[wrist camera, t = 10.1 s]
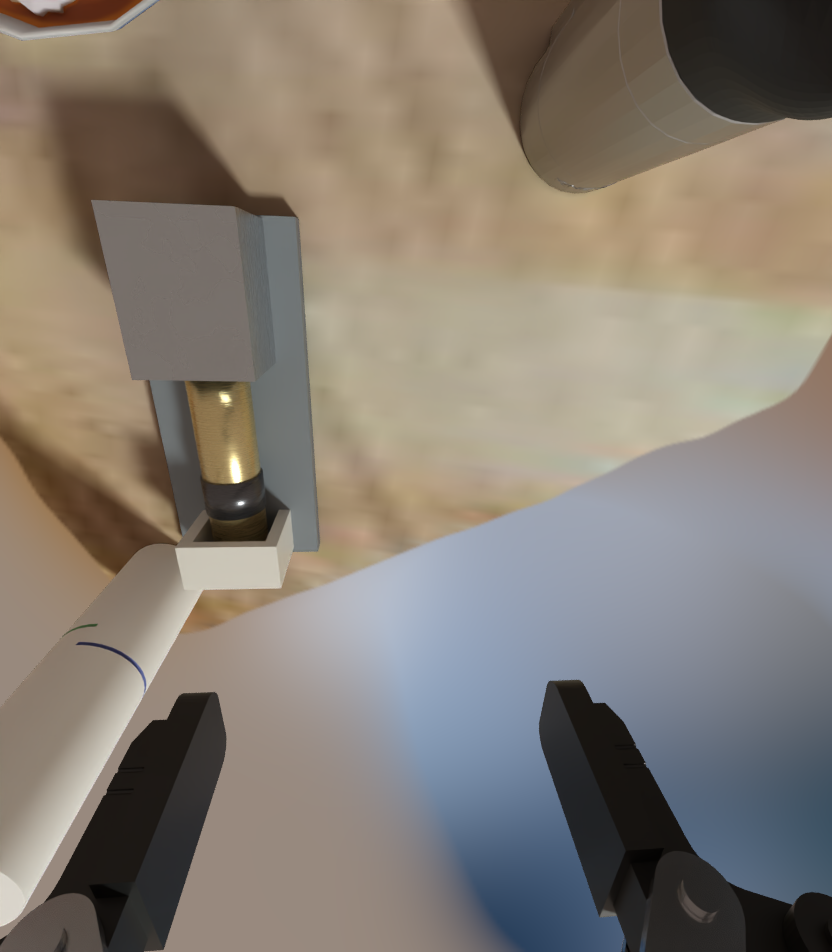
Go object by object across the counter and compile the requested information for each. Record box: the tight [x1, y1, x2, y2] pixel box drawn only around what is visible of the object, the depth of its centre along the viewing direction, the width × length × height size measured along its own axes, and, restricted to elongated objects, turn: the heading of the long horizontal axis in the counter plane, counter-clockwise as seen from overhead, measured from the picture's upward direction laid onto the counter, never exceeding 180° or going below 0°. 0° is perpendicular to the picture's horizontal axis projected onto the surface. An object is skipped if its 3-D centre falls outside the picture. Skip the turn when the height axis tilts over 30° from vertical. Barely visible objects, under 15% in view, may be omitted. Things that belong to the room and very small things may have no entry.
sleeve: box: [91, 200, 276, 382], centre depth 30 cm, size 10×8×7 cm
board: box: [150, 215, 320, 552], centre depth 37 cm, size 28×12×2 cm, turn 178°
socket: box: [175, 510, 294, 590], centre depth 38 cm, size 4×8×6 cm, turn 88°
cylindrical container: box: [0, 544, 203, 926], centre depth 33 cm, size 7×7×25 cm
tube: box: [185, 381, 268, 542], centre depth 35 cm, size 18×5×5 cm, turn 178°
